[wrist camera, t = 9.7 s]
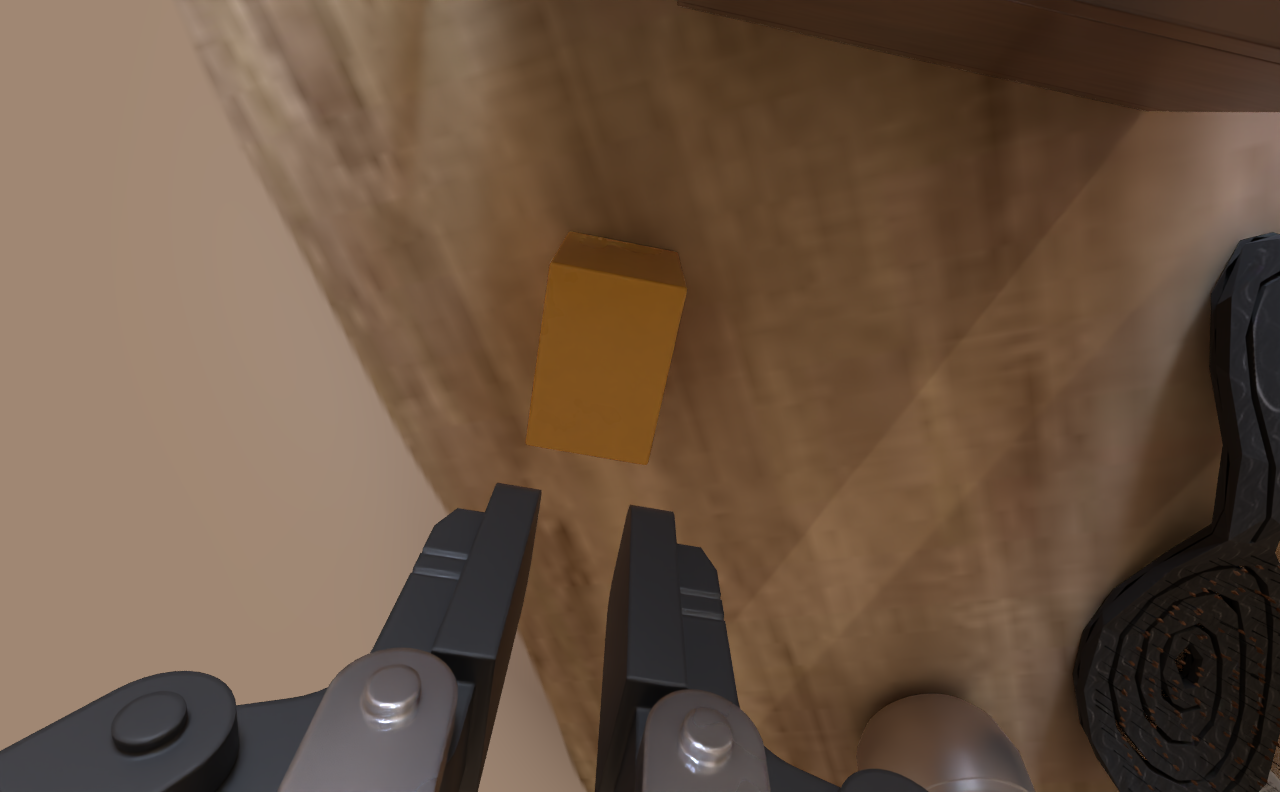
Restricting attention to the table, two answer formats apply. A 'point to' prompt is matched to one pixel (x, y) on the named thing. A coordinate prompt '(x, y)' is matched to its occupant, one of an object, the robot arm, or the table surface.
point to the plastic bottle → (942, 746)
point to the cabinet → (1063, 43)
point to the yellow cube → (605, 347)
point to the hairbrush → (1205, 586)
